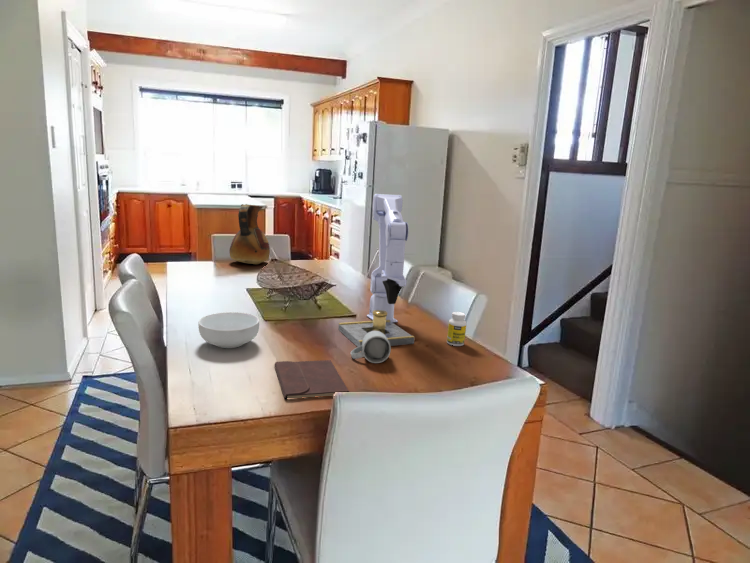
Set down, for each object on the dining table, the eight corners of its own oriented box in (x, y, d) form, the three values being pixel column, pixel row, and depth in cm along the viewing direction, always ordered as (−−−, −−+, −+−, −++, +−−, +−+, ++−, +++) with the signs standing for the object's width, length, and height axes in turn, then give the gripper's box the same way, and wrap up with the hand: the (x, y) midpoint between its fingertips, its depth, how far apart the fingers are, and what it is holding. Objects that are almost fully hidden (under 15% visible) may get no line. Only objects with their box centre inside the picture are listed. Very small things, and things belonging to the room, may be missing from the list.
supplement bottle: (450, 346, 159) (454, 316, 157) (443, 341, 164) (446, 311, 162) (467, 346, 160) (470, 315, 158) (459, 340, 165) (462, 310, 163)
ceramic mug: (386, 353, 150) (387, 327, 148) (390, 363, 142) (391, 336, 140) (349, 353, 149) (350, 327, 147) (351, 363, 141) (352, 336, 139)
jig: (338, 329, 168) (338, 323, 168) (388, 326, 175) (389, 319, 175) (359, 348, 152) (359, 341, 152) (413, 343, 159) (414, 336, 159)
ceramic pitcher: (274, 261, 274) (276, 204, 268) (261, 268, 255) (262, 206, 248) (239, 258, 277) (239, 201, 270) (223, 265, 257) (223, 203, 251)
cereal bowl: (197, 335, 154) (197, 312, 153) (254, 332, 160) (254, 310, 159) (200, 356, 139) (199, 330, 137) (263, 352, 145) (263, 327, 143)
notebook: (331, 365, 139) (331, 358, 139) (349, 397, 121) (350, 389, 121) (274, 368, 135) (274, 361, 134) (284, 402, 117) (284, 393, 116)
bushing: (368, 334, 165) (370, 310, 163) (381, 333, 167) (383, 309, 165) (374, 339, 161) (376, 314, 159) (388, 338, 163) (389, 313, 161)
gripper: (373, 256, 166) (371, 298, 169) (392, 265, 153) (389, 310, 156) (393, 256, 169) (390, 297, 172) (414, 265, 156) (410, 309, 159)
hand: (391, 303), depth 164 cm, fingers closed
